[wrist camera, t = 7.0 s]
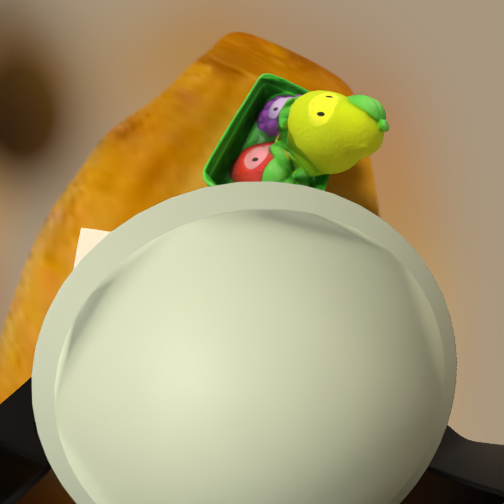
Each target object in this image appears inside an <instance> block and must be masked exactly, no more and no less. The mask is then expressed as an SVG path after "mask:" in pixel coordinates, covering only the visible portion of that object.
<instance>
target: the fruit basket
mask: <svg viewBox="0 0 504 504" xmlns="http://www.w3.org/2000/svg"><path fill="white" fill-rule="evenodd" d="M388 129H389V125H388V123H387V121H386V114H385V110H384V108H383V106H382V105H381V104H380V103H379V102H378V101H377V100H376V99H374V98H370V97H368V96H364V95H354V96H349V97H346V96H343V95H341V94H339V93H335V92H331V91H312V92H310V91H308V90H306V89H304V88H302V87H300V86H298V85H296V84H294V83H292V82H290V81H288V80H286V79H284V78H281V77H278V76H276V75H272V74H262V75H261V76H259V78H258V79H257V81H256V83H255V84H254V86H253V87H252V89H251V91H250V92H249V94H248V96H247V97H246V99H245V100H244V102H243V103H242V105H241V107H240V108H239V110H238V111H237V113H236V114H235V116H234V118H233V119H232V121H231V122H230V124H229V126H228V128H227V129H226V131H225V133H224V134H223V136H222V138H221V140H220V141H219V143H218V144H217V146H216V148H215V150H214V151H213V153H212V155H211V157H210V158H209V160H208V162H207V163H206V165H205V167H204V169H203V179H204V181H205V182H206V183H207V185H208V186H209V187H211V186H217V185H223V184H229V183H236V182H281V183H289V184H297V185H304V186H308V187H312V188H315V189H319V190H323V191H325V189H326V186H327V183H328V180H329V176H330V174H336V173H340V172H344V171H346V170H348V169H350V168H351V167H353V166H354V165H355V164H356V163H357V162H358V161H360V160H361V159H362V158H364V157H366V156H369V155H371V154H373V153H374V152H376V151H377V150H378V149H379V147H380V146H381V144H382V141H383V136H384V132H387V131H388Z"/></svg>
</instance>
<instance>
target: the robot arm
mask: <svg viewBox="0 0 504 504" xmlns="http://www.w3.org/2000/svg"><path fill="white" fill-rule="evenodd" d="M0 504H76V502H75V501H74V500H73V499H72V497H71V496H70V495H69V494H68V492H67V491H66V490H65V488H64V487H63V486H62V484H61V483H60V481H59V479H58V478H57V476H56V474H55V472H54V470H53V469H52V467H51V465H50V463H49V461H48V459H47V457H46V454H45V451H44V449H43V446H42V443H41V441H40V438H39V435H38V431H37V427H36V422H35V417H34V411H33V405H32V377H31V378H30V379H29V380H28V381H27V382H25V383H24V384H23V385H22V386H21V387H20V388H19V389H17V390H16V391H15V392H14V393H13V394H12V395H11V396H9V397H8V398H7V399H6V400H5V401H3V402H2V403H1V404H0ZM400 504H504V445H497V444H489V443H481V442H475V441H471V440H468V439H465V438H464V437H462V436H460V435H459V434H458V433H456V432H455V431H454V430H453V429H451V427H449V426H448V425H447V426H446V429H445V432H444V434H443V437H442V439H441V442H440V444H439V447H438V449H437V451H436V453H435V454H434V456H433V458H432V460H431V462H430V464H429V466H428V467H427V469H426V470H425V472H424V473H423V475H422V476H421V478H420V479H419V481H418V482H417V484H416V485H415V486H414V487H413V489H412V490H411V491H410V492H409V494H408V495H407V496H406V497H405V498H404V500H403V501H402V502H401V503H400Z"/></svg>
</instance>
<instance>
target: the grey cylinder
mask: <svg viewBox="0 0 504 504" xmlns="http://www.w3.org/2000/svg"><path fill="white" fill-rule="evenodd" d="M456 367H457V357H456V344H455V336H454V331H453V327H452V322H451V317H450V314H449V311H448V308H447V305H446V302H445V299H444V297H443V294H442V292H441V290H440V288H439V286H438V284H437V282H436V280H435V278H434V276H433V274H432V273H431V271H430V270H429V268H428V267H427V265H426V264H425V262H424V261H423V259H422V258H421V256H420V255H419V254H418V253H417V251H416V250H415V249H414V248H413V247H412V246H411V245H410V244H409V243H408V241H407V240H406V239H405V238H404V237H403V236H402V235H401V234H399V233H398V232H397V231H396V230H395V229H394V228H393V227H391V226H390V225H389V224H387V222H385V221H384V220H383V219H381V218H380V217H378V216H377V215H375V214H373V213H372V212H370V211H369V210H367V209H365V208H364V207H362V206H360V205H358V204H356V203H354V202H352V201H349V200H347V199H345V198H343V197H340V196H338V195H336V194H333V193H330V192H326V191H323V190H319V189H315V188H312V187H308V186H304V185H297V184H289V183H281V182H236V183H229V184H223V185H217V186H211V187H205V188H201V189H198V190H195V191H192V192H188V193H185V194H182V195H179V196H176V197H173V198H170V199H168V200H166V201H163V202H161V203H159V204H157V205H155V206H153V207H151V208H149V209H147V210H145V211H143V212H141V213H139V214H137V215H135V216H134V217H132V218H131V219H129V220H128V221H127V222H125V223H124V224H122V225H121V226H119V227H118V228H116V229H115V230H113V231H112V232H111V233H109V234H108V235H107V236H106V237H105V238H103V239H102V240H101V241H100V242H99V243H98V244H97V245H96V246H95V247H94V248H93V249H92V250H91V251H90V252H89V253H88V254H87V255H86V256H84V257H83V258H82V260H81V261H80V262H79V263H78V265H77V266H76V267H75V269H74V270H73V271H72V272H71V274H70V275H69V276H68V278H67V279H66V280H65V282H64V283H63V284H62V286H61V288H60V289H59V291H58V293H57V295H56V297H55V299H54V301H53V302H52V304H51V306H50V308H49V310H48V312H47V314H46V316H45V319H44V322H43V325H42V328H41V331H40V334H39V338H38V341H37V344H36V349H35V355H34V362H33V369H32V405H33V411H34V417H35V422H36V427H37V431H38V435H39V438H40V441H41V443H42V446H43V449H44V451H45V454H46V457H47V459H48V461H49V463H50V465H51V467H52V469H53V470H54V472H55V474H56V476H57V478H58V479H59V481H60V483H61V484H62V486H63V487H64V488H65V490H66V491H67V492H68V494H69V495H70V496H71V497H72V499H73V500H74V501H75V502H76V504H400V503H401V502H402V501H403V500H404V498H405V497H406V496H407V495H408V494H409V492H410V491H411V490H412V489H413V487H414V486H415V485H416V484H417V482H418V481H419V479H420V478H421V476H422V475H423V473H424V472H425V470H426V469H427V467H428V466H429V464H430V462H431V460H432V458H433V456H434V454H435V453H436V451H437V449H438V447H439V444H440V442H441V439H442V437H443V434H444V432H445V429H446V426H447V423H448V420H449V416H450V413H451V409H452V404H453V399H454V393H455V386H456V371H457V368H456Z"/></svg>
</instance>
